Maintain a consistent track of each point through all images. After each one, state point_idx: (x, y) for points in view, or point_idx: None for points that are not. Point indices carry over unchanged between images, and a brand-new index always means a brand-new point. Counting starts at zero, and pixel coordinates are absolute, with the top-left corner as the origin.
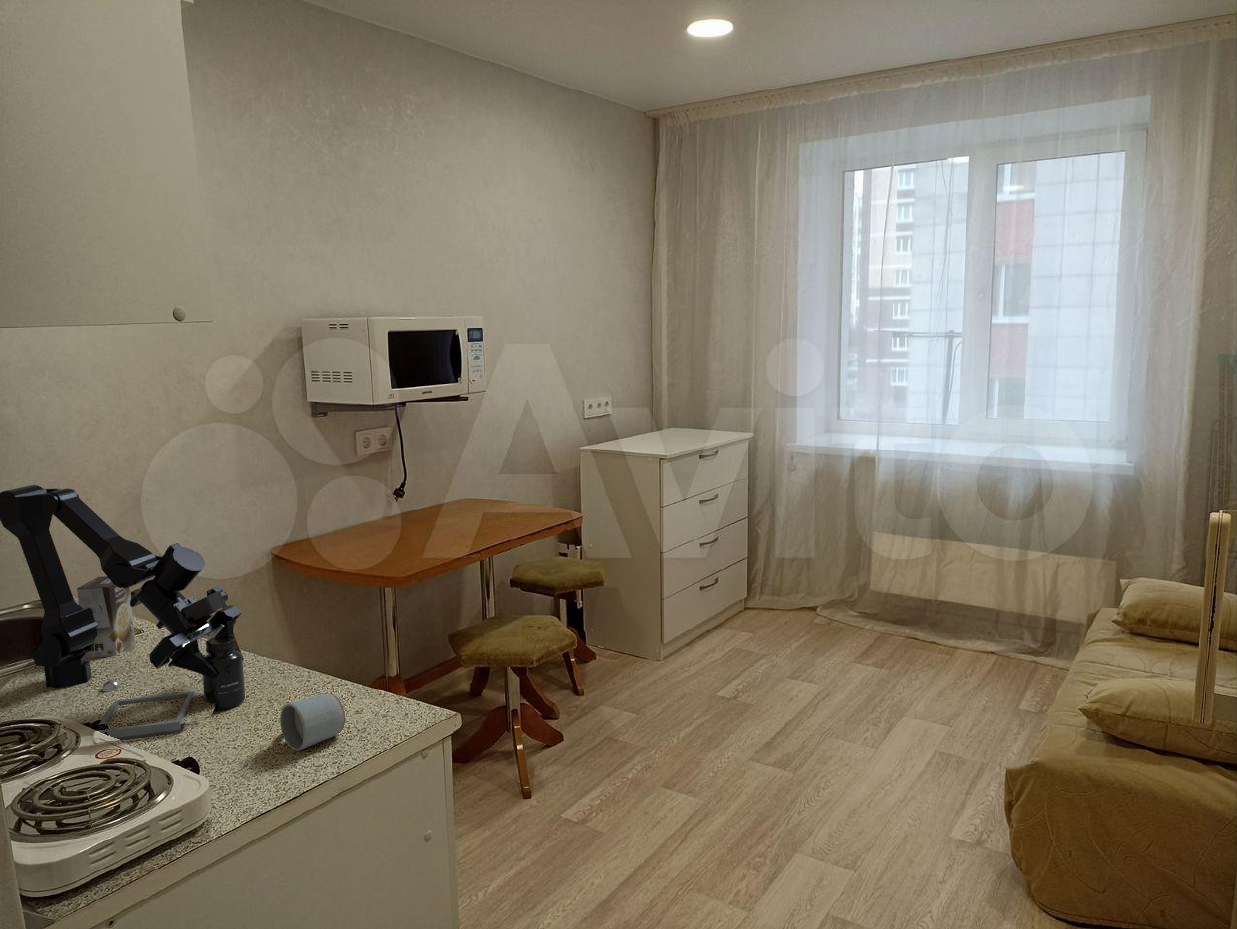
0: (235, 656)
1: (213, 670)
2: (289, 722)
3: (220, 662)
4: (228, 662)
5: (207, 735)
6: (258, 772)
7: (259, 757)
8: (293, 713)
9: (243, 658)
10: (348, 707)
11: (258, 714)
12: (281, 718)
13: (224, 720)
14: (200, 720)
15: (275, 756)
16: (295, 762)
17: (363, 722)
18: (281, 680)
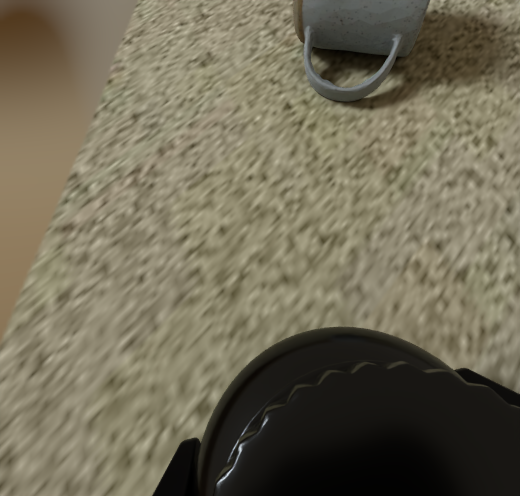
0: (318, 347)
1: (500, 389)
2: (392, 30)
3: (457, 375)
4: (396, 337)
5: (510, 263)
6: (512, 30)
7: (475, 69)
8: (386, 5)
9: (182, 441)
10: (193, 88)
11: (325, 242)
12: (423, 10)
13: (414, 305)
14: None
15: (449, 50)
16: (437, 11)
17: (243, 26)
18: (77, 396)
